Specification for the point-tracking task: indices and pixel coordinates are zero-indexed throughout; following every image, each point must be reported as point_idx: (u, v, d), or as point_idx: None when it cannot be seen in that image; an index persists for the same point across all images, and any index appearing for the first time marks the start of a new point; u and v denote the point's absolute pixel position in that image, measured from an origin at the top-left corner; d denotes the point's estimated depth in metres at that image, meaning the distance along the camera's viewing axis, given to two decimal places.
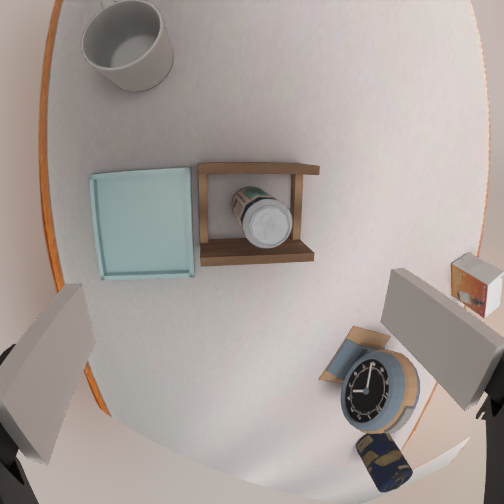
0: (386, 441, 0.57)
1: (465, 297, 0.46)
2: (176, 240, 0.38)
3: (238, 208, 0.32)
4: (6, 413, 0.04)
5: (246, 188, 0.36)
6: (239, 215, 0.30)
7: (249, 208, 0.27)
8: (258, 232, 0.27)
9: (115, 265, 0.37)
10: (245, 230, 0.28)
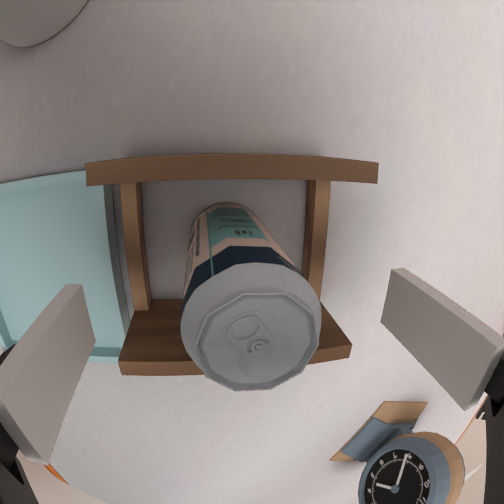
0: None
1: None
2: (97, 302, 0.19)
3: (189, 261, 0.14)
4: (6, 413, 0.04)
5: (216, 207, 0.18)
6: (184, 288, 0.12)
7: (196, 292, 0.09)
8: (224, 361, 0.09)
9: (19, 331, 0.19)
10: (189, 349, 0.09)
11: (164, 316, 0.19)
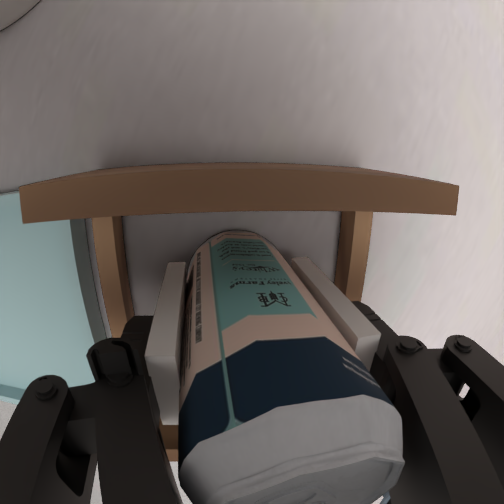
0: None
1: None
2: (75, 351, 0.14)
3: (186, 331, 0.09)
4: (170, 371, 0.07)
5: (223, 238, 0.13)
6: (180, 386, 0.07)
7: (202, 448, 0.04)
8: None
9: None
10: None
11: None
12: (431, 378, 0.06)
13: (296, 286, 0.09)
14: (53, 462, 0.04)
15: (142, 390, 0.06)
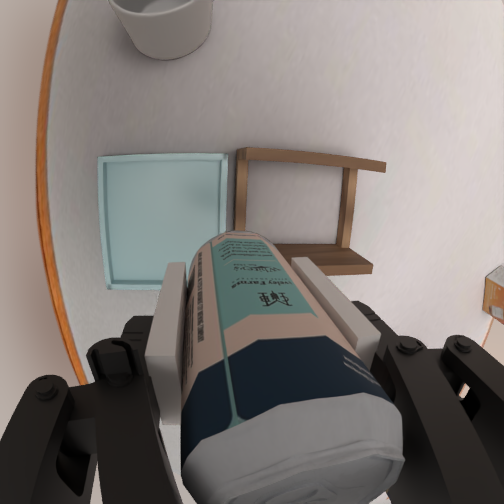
0: None
1: (498, 312, 0.39)
2: None
3: (187, 331, 0.09)
4: (170, 371, 0.07)
5: (224, 238, 0.13)
6: (182, 385, 0.07)
7: (205, 446, 0.04)
8: None
9: (125, 271, 0.31)
10: None
11: None
12: (431, 378, 0.06)
13: (297, 286, 0.09)
14: (53, 462, 0.04)
15: (142, 390, 0.06)
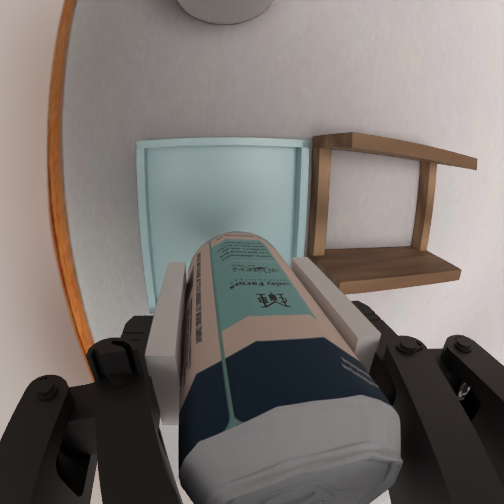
0: None
1: None
2: None
3: (186, 332, 0.09)
4: (170, 371, 0.07)
5: (222, 239, 0.13)
6: None
7: (202, 447, 0.04)
8: None
9: None
10: None
11: (340, 258, 0.25)
12: (431, 377, 0.06)
13: (295, 287, 0.09)
14: (53, 462, 0.04)
15: (142, 390, 0.06)
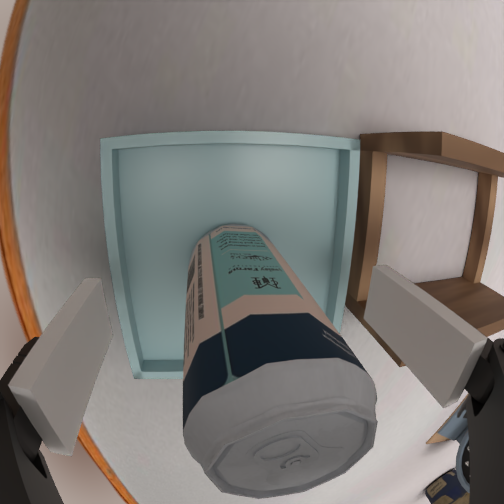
0: (459, 482, 0.36)
1: None
2: None
3: (189, 313, 0.10)
4: (33, 403, 0.05)
5: (221, 231, 0.14)
6: (184, 358, 0.08)
7: (204, 401, 0.05)
8: (246, 477, 0.05)
9: (163, 347, 0.17)
10: (196, 458, 0.06)
11: None
12: None
13: (286, 273, 0.10)
14: None
15: (2, 413, 0.04)
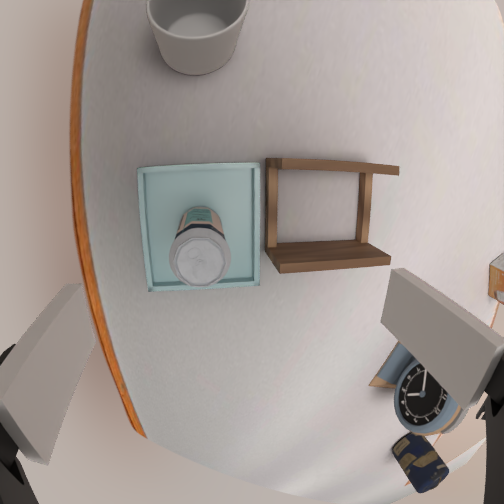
0: (422, 442, 0.53)
1: (502, 296, 0.42)
2: (240, 245, 0.34)
3: None
4: (6, 413, 0.04)
5: (193, 208, 0.31)
6: None
7: (175, 240, 0.22)
8: (185, 270, 0.22)
9: (165, 274, 0.34)
10: (172, 267, 0.22)
11: (288, 248, 0.34)
12: None
13: (212, 219, 0.27)
14: None
15: None
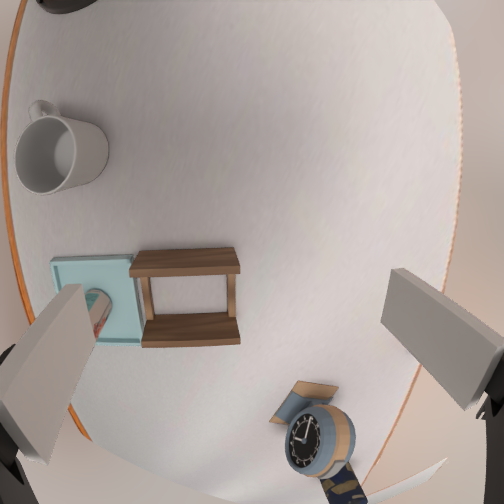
0: (344, 470, 0.60)
1: None
2: (127, 316, 0.41)
3: None
4: (6, 413, 0.04)
5: (88, 292, 0.37)
6: None
7: None
8: None
9: None
10: None
11: (160, 322, 0.40)
12: None
13: (90, 310, 0.34)
14: None
15: None
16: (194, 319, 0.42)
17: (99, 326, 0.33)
